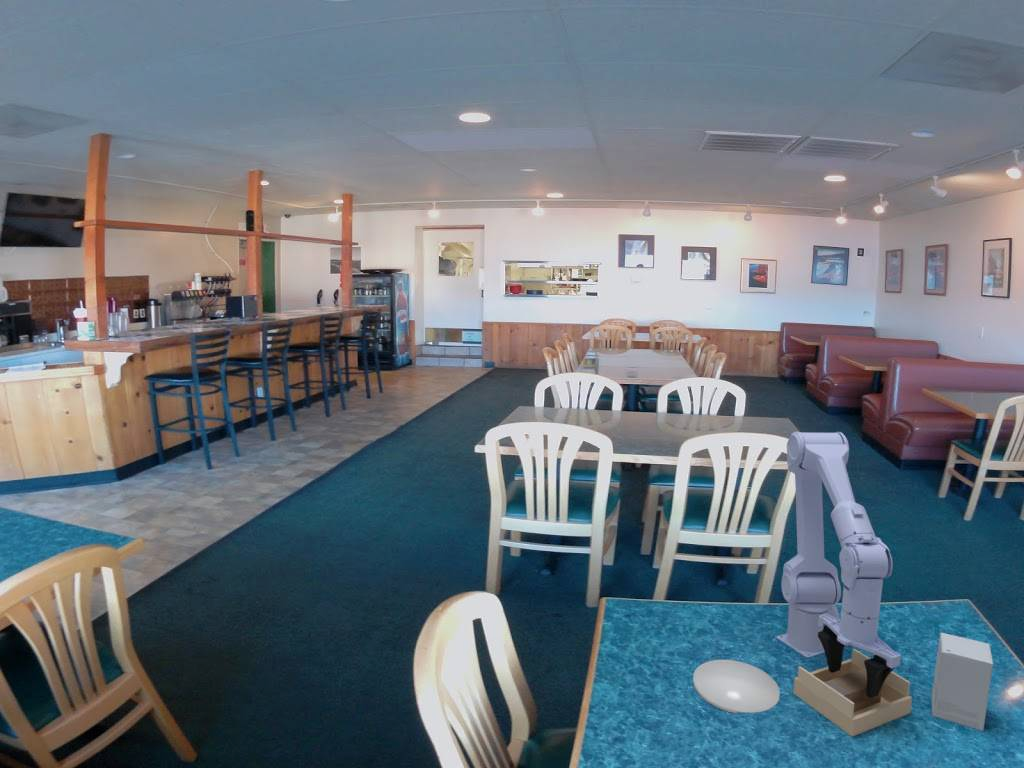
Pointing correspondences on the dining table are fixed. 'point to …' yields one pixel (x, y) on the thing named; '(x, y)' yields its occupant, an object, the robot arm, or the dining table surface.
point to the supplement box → (962, 680)
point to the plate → (735, 686)
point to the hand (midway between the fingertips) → (852, 682)
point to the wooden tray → (842, 709)
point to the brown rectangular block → (854, 689)
